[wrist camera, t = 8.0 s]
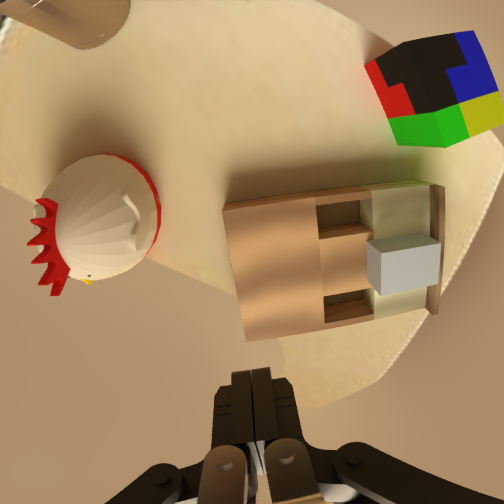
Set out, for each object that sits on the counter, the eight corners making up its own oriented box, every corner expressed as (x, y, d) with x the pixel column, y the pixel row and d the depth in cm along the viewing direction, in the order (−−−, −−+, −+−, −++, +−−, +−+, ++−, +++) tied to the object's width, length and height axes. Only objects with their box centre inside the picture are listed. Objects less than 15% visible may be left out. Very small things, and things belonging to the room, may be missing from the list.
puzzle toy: (426, 49, 28) (473, 30, 18) (456, 122, 31) (508, 121, 21) (363, 66, 29) (403, 42, 20) (397, 145, 32) (446, 147, 23)
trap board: (224, 203, 34) (220, 215, 28) (417, 180, 33) (444, 187, 28) (246, 323, 39) (246, 352, 33) (416, 292, 38) (437, 313, 32)
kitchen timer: (70, 270, 36) (4, 327, 22) (52, 164, 32) (-32, 181, 17) (168, 265, 36) (127, 335, 22) (155, 145, 32) (93, 146, 18)
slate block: (366, 241, 31) (381, 253, 28) (422, 232, 31) (441, 243, 27) (367, 280, 33) (380, 296, 29) (420, 270, 33) (438, 283, 29)
